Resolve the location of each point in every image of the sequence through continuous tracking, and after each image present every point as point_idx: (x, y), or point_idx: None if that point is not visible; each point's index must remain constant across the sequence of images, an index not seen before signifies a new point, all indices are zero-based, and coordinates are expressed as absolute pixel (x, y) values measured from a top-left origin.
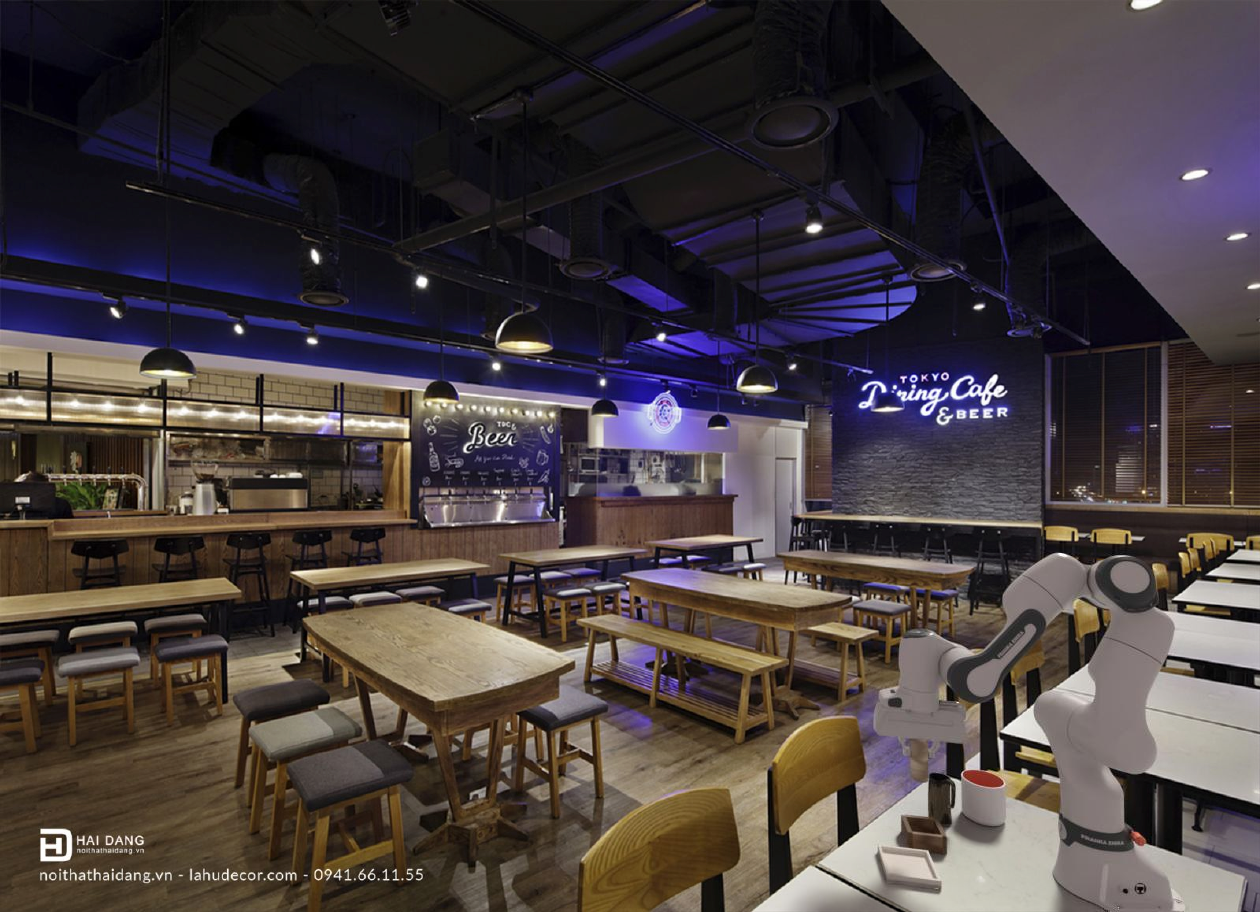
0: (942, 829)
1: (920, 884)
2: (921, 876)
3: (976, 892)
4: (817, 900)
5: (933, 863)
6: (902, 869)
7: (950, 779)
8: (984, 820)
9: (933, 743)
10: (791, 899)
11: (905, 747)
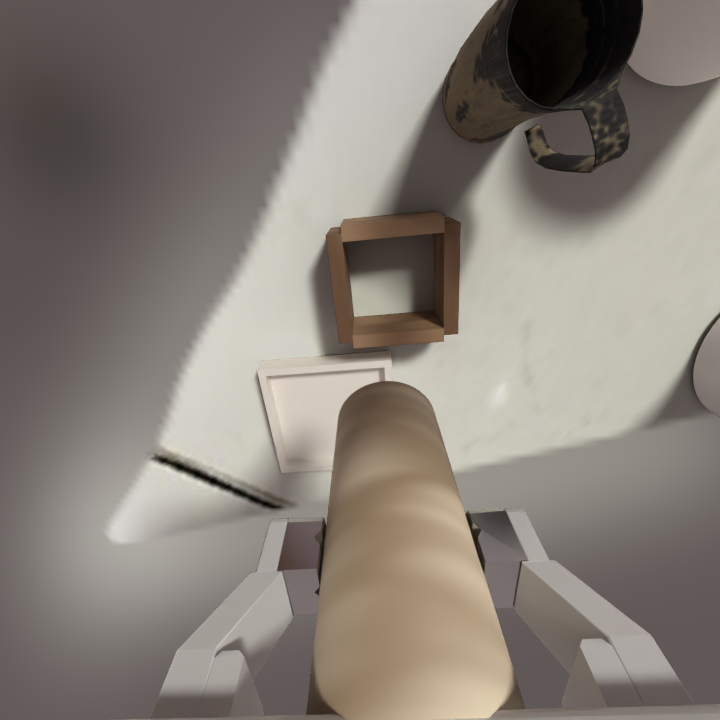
0: (456, 295)
1: None
2: None
3: (469, 442)
4: (164, 531)
5: None
6: (318, 428)
7: (622, 109)
8: (668, 83)
9: (566, 691)
10: (121, 539)
11: (275, 634)
